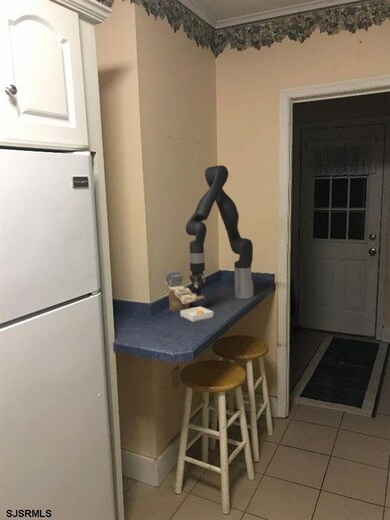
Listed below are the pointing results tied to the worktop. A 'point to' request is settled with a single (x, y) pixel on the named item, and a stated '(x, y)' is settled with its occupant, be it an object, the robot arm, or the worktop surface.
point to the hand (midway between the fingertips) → (198, 294)
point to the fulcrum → (176, 302)
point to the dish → (192, 314)
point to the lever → (180, 287)
